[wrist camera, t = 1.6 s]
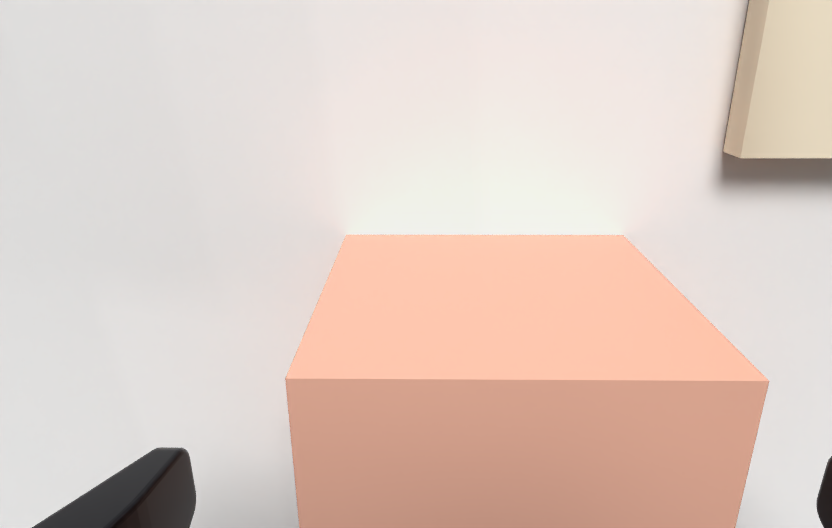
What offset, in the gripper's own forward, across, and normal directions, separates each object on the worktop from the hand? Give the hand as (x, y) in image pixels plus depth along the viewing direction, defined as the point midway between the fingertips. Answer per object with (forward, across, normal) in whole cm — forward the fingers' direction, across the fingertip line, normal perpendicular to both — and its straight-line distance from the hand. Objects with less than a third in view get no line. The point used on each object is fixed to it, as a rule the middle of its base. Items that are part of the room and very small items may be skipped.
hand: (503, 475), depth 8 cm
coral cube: (+4, 0, 0) cm, 4 cm away
